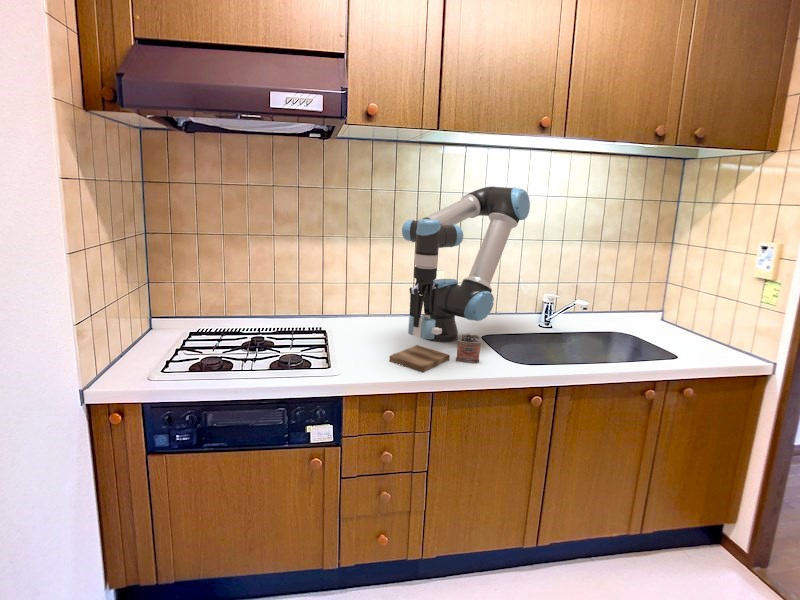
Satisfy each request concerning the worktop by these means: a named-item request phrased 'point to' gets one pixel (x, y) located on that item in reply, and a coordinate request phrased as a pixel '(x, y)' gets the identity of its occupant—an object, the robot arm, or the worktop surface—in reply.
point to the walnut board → (419, 358)
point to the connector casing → (425, 328)
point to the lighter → (468, 349)
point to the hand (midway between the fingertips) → (421, 334)
